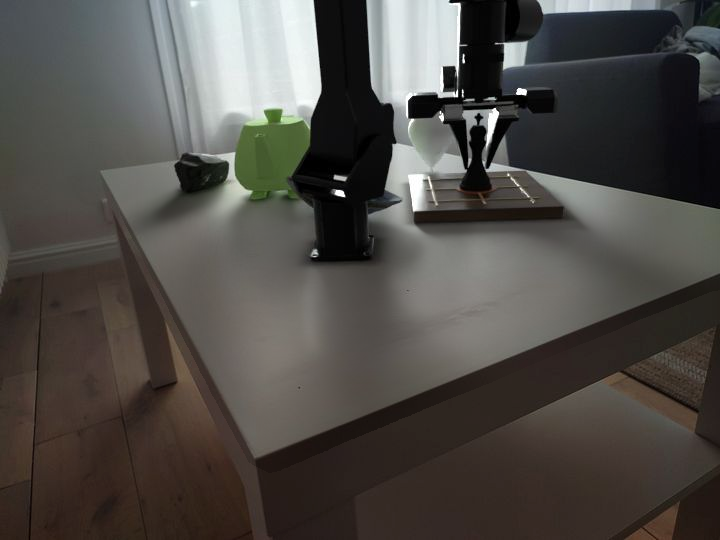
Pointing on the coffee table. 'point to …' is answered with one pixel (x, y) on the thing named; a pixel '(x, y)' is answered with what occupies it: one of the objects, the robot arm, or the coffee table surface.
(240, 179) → the teapot
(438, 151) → the spinning top
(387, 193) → the seashell
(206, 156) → the rock
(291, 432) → the coffee table surface
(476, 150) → the chess piece
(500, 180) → the board
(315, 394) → the coffee table surface
